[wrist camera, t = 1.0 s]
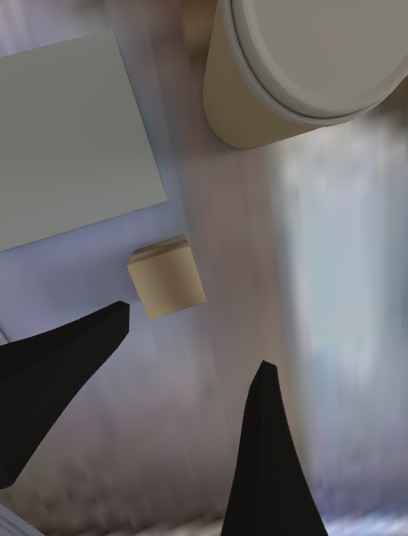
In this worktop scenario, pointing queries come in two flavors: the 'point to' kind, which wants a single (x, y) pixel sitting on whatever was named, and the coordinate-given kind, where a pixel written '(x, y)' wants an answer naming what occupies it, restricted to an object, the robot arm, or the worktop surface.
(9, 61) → the gray board
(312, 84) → the coffee cup
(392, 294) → the worktop surface
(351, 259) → the worktop surface
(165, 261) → the maple cube
